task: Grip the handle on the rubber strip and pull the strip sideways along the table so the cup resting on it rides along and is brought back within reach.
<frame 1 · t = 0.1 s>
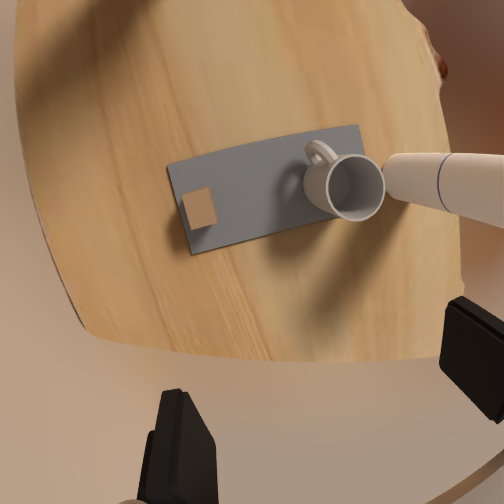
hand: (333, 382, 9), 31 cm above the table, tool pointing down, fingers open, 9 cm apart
cylindrical container: (400, 176, 39), on the table
strip: (282, 185, 35), point 3 cm above the table, slide at 0.0 cm, touching cup
cup: (321, 174, 38), resting on strip
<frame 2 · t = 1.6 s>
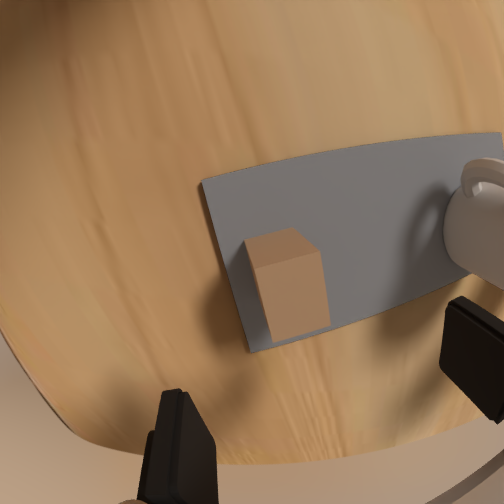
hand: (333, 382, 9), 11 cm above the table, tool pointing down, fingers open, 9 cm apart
strip: (430, 234, 16), point 3 cm above the table, slide at 0.0 cm, touching cup
cup: (462, 209, 19), resting on strip
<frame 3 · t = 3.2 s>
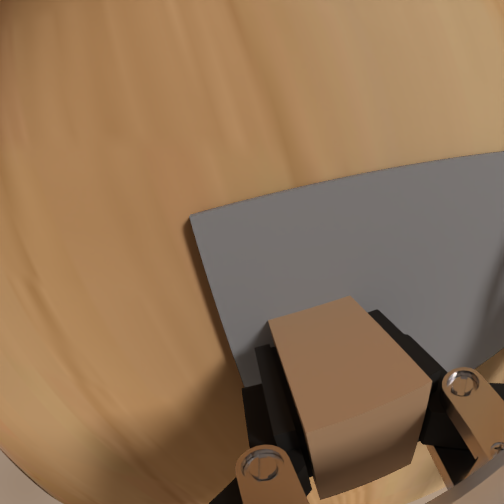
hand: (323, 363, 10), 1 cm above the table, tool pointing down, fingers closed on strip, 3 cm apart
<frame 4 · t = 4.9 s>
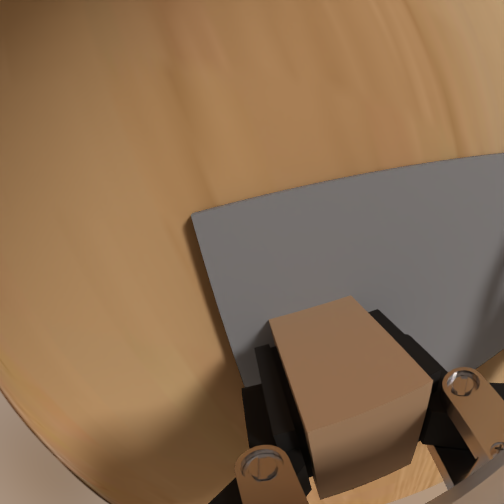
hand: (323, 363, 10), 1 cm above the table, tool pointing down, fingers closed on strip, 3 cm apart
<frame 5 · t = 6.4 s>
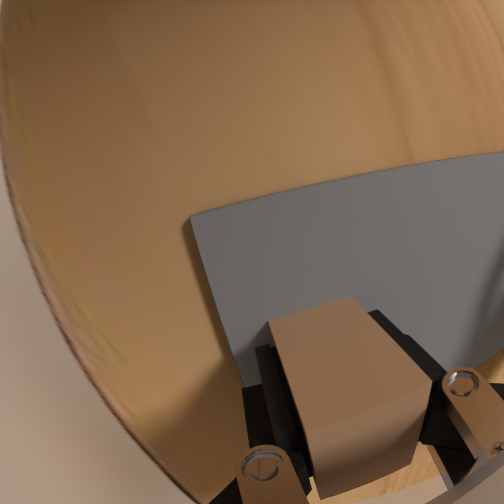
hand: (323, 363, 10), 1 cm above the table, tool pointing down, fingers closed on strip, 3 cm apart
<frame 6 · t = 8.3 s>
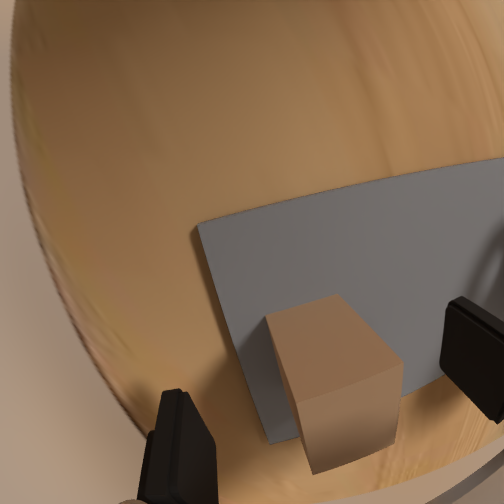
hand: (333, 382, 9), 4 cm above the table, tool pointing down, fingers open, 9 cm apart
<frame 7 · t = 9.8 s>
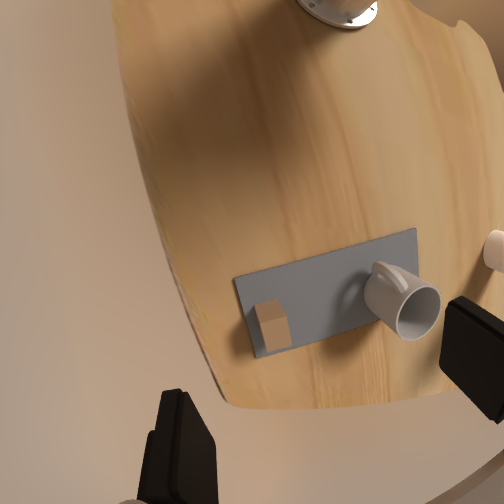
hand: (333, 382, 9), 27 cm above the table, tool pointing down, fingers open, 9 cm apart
cylindrical container: (492, 248, 41), on the table
strip: (348, 300, 35), point 3 cm above the table, slide at 14.6 cm, touching cup
cup: (379, 280, 38), resting on strip
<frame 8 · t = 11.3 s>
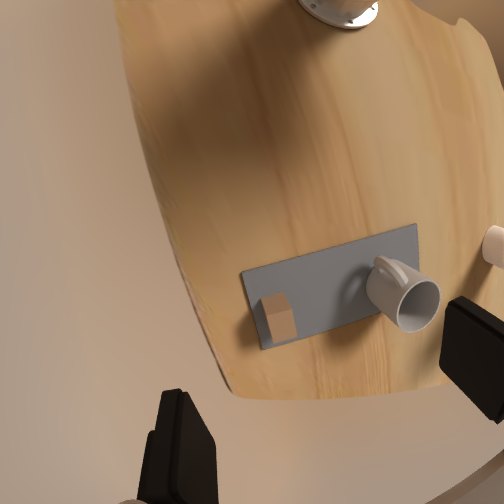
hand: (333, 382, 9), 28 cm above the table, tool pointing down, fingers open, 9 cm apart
cylindrical container: (491, 243, 42), on the table
strip: (351, 293, 37), point 3 cm above the table, slide at 14.3 cm, touching cup
cup: (381, 274, 39), resting on strip
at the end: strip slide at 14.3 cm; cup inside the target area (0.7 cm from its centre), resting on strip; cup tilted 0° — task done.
